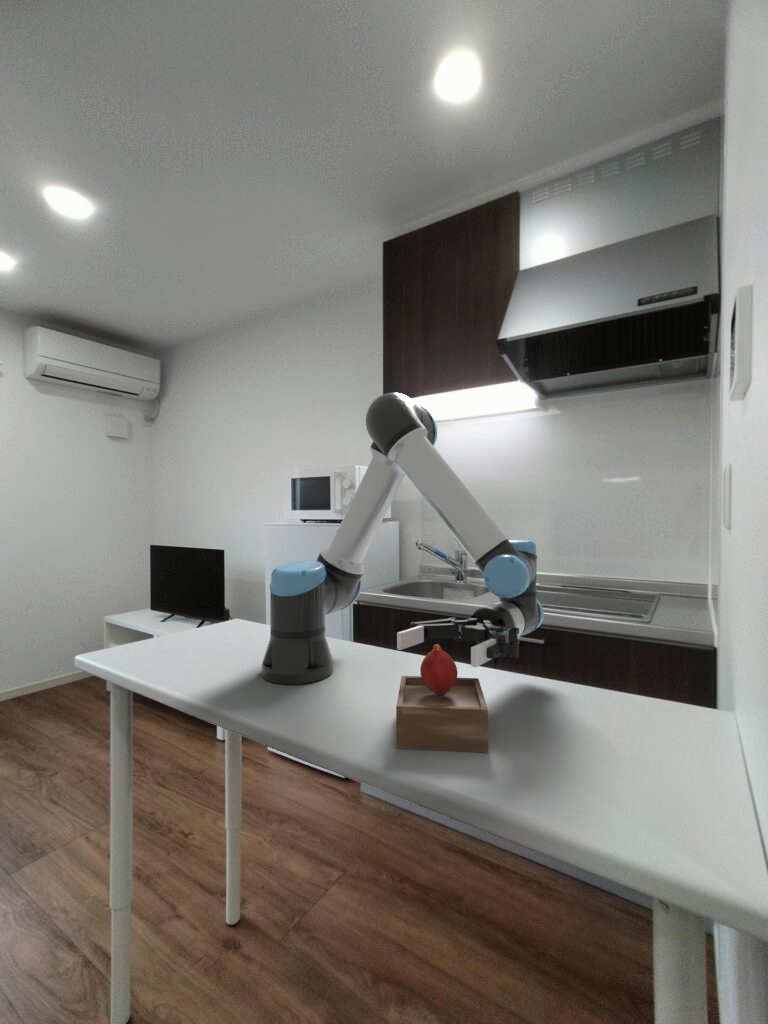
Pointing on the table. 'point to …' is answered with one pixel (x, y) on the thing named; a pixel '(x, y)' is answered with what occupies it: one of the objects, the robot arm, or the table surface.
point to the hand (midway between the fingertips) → (433, 648)
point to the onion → (438, 671)
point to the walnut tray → (442, 717)
